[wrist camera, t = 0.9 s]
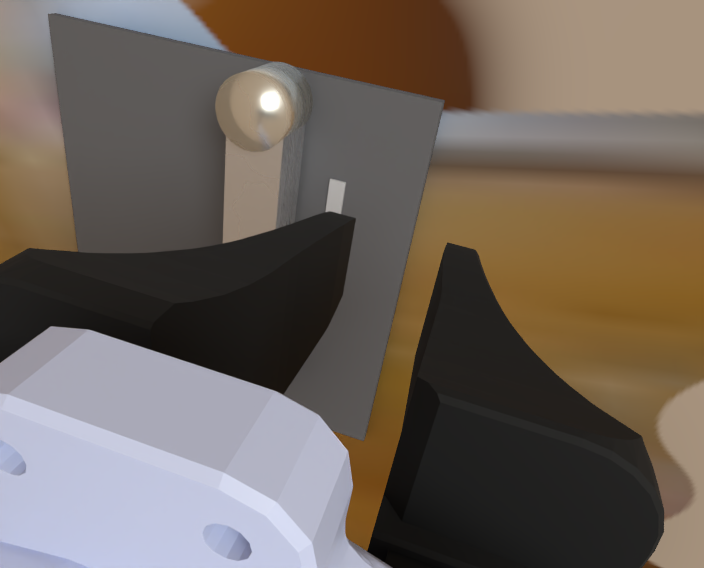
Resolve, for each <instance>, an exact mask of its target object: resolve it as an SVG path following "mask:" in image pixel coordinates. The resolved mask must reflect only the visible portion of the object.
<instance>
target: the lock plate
mask: <svg viewBox="0 0 704 568" xmlns="http://www.w3.org/2000/svg"><path fill="white" fill-rule="evenodd" d="M48 18H49V26H50V34H51V41H52V49H53V57H54V65H55V73H56V81H57V89H58V97H59V105H60V112H61V120H62V128H63V136H64V144H65V152H66V160H67V168H68V175H69V183H70V191H71V199H72V207H73V215H74V223H75V231H76V239H77V246H78V252H85V253H151V252H162V251H173V250H184V249H193V248H200V247H206V246H212V245H217V244H223V218H224V186H225V154H226V135H225V134H224V132H223V131H222V129H221V127H220V125H219V123H218V120H217V116H216V110H215V102H216V96H217V93H218V90H219V88H220V86H221V85H222V84H223V82H224V81H225V80H226V79H228V78H229V77H231V76H233V75H235V74H238V73H241V72H244V71H247V70H250V69H253V68H256V67H259V66H262V65H265V64H268V63H271V61H266V60H262V59H258V58H253V57H249V56H244V55H240V54H235V53H231V52H226V51H222V50H217V49H213V48H209V47H204V46H200V45H195V44H191V43H186V42H182V41H177V40H173V39H168V38H164V37H159V36H155V35H150V34H146V33H141V32H137V31H133V30H128V29H124V28H119V27H115V26H110V25H106V24H101V23H97V22H92V21H88V20H83V19H79V18H74V17H70V16H66V15H61V14H57V13H54V14H48ZM295 68H296V69H297V70H299V71H300V72H301V73H302V74H303V76H304V77H305V78H306V80H307V82H308V83H309V86H310V88H311V91H312V96H313V108H312V113H311V116H310V118H309V120H308V121H307V123H306V124H305V132H304V141H303V151H302V160H301V169H300V179H299V188H298V197H297V206H296V216H295V222H298V221H300V220H303V219H306V218H309V217H312V216H315V215H318V214H321V213H324V212H329V211H331V212H335V213H339V214H343V215H346V216H350V217H354V218H356V222H355V228H354V233H353V239H352V245H351V251H350V257H349V263H348V268H347V274H346V280H345V286H344V292H343V296H342V298H341V300H340V303H339V305H338V307H337V309H336V311H335V314H334V316H333V318H332V320H331V322H330V324H329V326H328V328H327V330H326V331H325V333H324V334H323V336H322V337H321V339H320V340H319V342H318V343H317V345H316V347H315V348H314V350H313V351H312V353H311V354H310V356H309V357H308V359H307V360H306V362H305V363H304V365H303V366H302V368H301V369H300V371H299V372H298V374H297V375H296V377H295V378H294V380H293V381H292V383H291V384H290V386H289V387H288V389H287V390H286V392H285V393H284V395H285V396H286V397H288V398H290V399H292V400H294V401H295V402H297V403H299V404H301V405H303V406H304V407H306V408H308V409H310V410H312V411H313V412H315V413H317V414H318V415H319V416H320V417H321V418H322V419H323V421H324V422H325V423H326V424H327V426H328V427H329V428H330V429H331V430H332V431H335V432H338V433H341V434H344V435H347V436H350V437H353V438H356V439H359V440H362V441H364V439H365V436H366V432H367V428H368V423H369V419H370V415H371V411H372V407H373V402H374V398H375V394H376V390H377V385H378V381H379V377H380V373H381V368H382V364H383V360H384V356H385V351H386V347H387V343H388V339H389V335H390V330H391V326H392V322H393V318H394V313H395V309H396V305H397V301H398V296H399V292H400V288H401V284H402V279H403V275H404V271H405V267H406V263H407V258H408V254H409V250H410V246H411V241H412V237H413V233H414V229H415V224H416V220H417V216H418V212H419V207H420V203H421V199H422V195H423V191H424V186H425V182H426V178H427V174H428V169H429V165H430V161H431V157H432V152H433V148H434V144H435V140H436V136H437V131H438V127H439V123H440V119H441V114H442V110H443V106H444V102H445V101H444V100H441V99H436V98H432V97H428V96H423V95H419V94H414V93H410V92H405V91H400V90H396V89H392V88H387V87H383V86H378V85H374V84H369V83H365V82H361V81H356V80H351V79H347V78H342V77H338V76H333V75H329V74H324V73H320V72H315V71H311V70H307V69H302V68H298V67H295Z"/></svg>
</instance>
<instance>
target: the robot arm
mask: <svg viewBox="0 0 704 568" xmlns="http://www.w3.org/2000/svg"><path fill="white" fill-rule="evenodd" d="M355 222H356V218H354V217H350V216H346V215H343V214H339V213H335V212H331V211H329V212H324V213H321V214H318V215H315V216H312V217H309V218H306V219H303V220H300V221H298V222H295V223H292V224H289V225H286V226H283V227H280V228H277V229H274V230H271V231H268V232H264V233H261V234H257V235H254V236H251V237H247V238H244V239H240V240H236V241H232V242H227V243H223V244H217V245H212V246H206V247H200V248H193V249H184V250H173V251H162V252H151V253H85V252H71V251H57V250H43V249H33V248H29V249H27V250H25V251H23V252H21V253H19V254H18V255H16V256H14V257H12V258H10V259H9V260H7V261H5V262H3V263H2V264H0V568H642V567H643V566H644V564H645V563H646V562H647V560H648V559H649V558H650V556H651V555H652V553H653V552H654V551H655V549H656V547H657V545H658V543H659V541H660V539H661V537H662V535H663V532H664V508H663V504H662V500H661V496H660V491H659V487H658V483H657V480H656V476H655V473H654V469H653V466H652V463H651V461H650V458H649V455H648V453H647V450H646V447H645V445H644V442H643V438H642V436H641V435H639V434H638V433H636V432H635V431H633V430H631V429H630V428H628V427H627V426H625V425H624V424H622V423H621V422H619V421H618V420H616V419H615V418H613V417H611V416H610V415H608V414H607V413H605V412H604V411H602V410H601V409H599V408H598V407H596V406H595V405H593V404H592V403H591V402H589V401H588V400H587V399H586V398H584V397H583V396H582V395H581V394H579V393H578V392H577V391H575V390H574V389H573V388H572V387H570V386H569V385H568V384H567V383H566V382H564V381H563V380H562V379H561V378H560V377H559V376H558V375H556V374H555V373H554V372H553V371H552V370H551V369H550V368H549V367H548V366H547V365H546V364H545V363H544V362H543V361H542V360H541V359H540V358H539V357H538V356H537V355H536V354H535V353H534V352H533V351H532V350H531V348H530V347H529V346H528V345H527V344H526V343H525V341H524V340H523V339H522V338H521V336H520V335H519V334H518V333H517V331H516V330H515V329H514V327H513V326H512V325H511V323H510V322H509V320H508V319H507V317H506V316H505V314H504V312H503V311H502V309H501V307H500V305H499V304H498V302H497V300H496V298H495V296H494V294H493V292H492V290H491V287H490V285H489V283H488V281H487V278H486V276H485V273H484V271H483V268H482V265H481V262H480V259H479V255H478V254H477V252H476V250H474V249H470V248H466V247H462V246H459V245H455V244H451V243H447V245H446V247H445V250H444V253H443V256H442V260H441V264H440V267H439V271H438V275H437V278H436V282H435V286H434V289H433V293H432V297H431V300H430V304H429V307H428V311H427V315H426V318H425V322H424V326H423V329H422V333H421V337H420V340H419V344H418V348H417V351H416V355H415V361H414V366H413V372H412V377H411V383H410V388H409V394H408V400H407V405H406V411H405V416H404V422H403V428H402V432H401V436H400V440H399V443H398V447H397V450H396V454H395V457H394V461H393V464H392V468H391V471H390V475H389V478H388V482H387V485H386V489H385V492H384V496H383V499H382V503H381V506H380V509H379V513H378V516H377V520H376V523H375V527H374V530H373V533H372V537H371V540H370V544H369V548H368V551H365V550H364V549H362V548H361V547H359V546H358V545H356V544H354V543H353V542H351V541H350V540H348V539H347V538H346V535H345V519H346V514H347V510H348V506H349V502H350V497H351V493H352V489H353V483H352V476H351V468H350V461H349V454H348V451H347V449H346V448H345V447H344V446H343V444H342V443H341V442H340V441H339V439H338V438H337V437H336V436H335V434H334V433H333V432H332V431H331V429H330V428H329V427H328V426H327V424H326V423H325V422H324V421H323V419H322V418H321V417H320V416H319V415H318V414H317V413H315V412H313V411H312V410H310V409H308V408H306V407H304V406H303V405H301V404H299V403H297V402H295V401H294V400H292V399H290V398H288V397H286V396H285V395H284V393H285V392H286V390H287V389H288V387H289V386H290V384H291V383H292V381H293V380H294V378H295V377H296V375H297V374H298V372H299V371H300V369H301V368H302V366H303V365H304V363H305V362H306V360H307V359H308V357H309V356H310V354H311V353H312V351H313V350H314V348H315V347H316V345H317V343H318V342H319V340H320V339H321V337H322V336H323V334H324V333H325V331H326V330H327V328H328V326H329V324H330V322H331V320H332V318H333V316H334V314H335V311H336V309H337V307H338V305H339V303H340V300H341V298H342V296H343V292H344V286H345V280H346V274H347V268H348V263H349V257H350V251H351V245H352V239H353V233H354V228H355Z"/></svg>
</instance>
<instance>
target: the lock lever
mask: <svg viewBox="0 0 704 568" xmlns="http://www.w3.org/2000/svg"><path fill="white" fill-rule="evenodd" d="M312 108H313V96H312V91H311V88H310V86H309V83H308V82H307V80H306V78H305V77H304V76H303V74H302V73H301V72H300V71H299V70H297V69H296V68H295V67H293V66H291V65H289V64H286V63H283V62H271V63H268V64H265V65H262V66H259V67H256V68H253V69H250V70H247V71H244V72H241V73H238V74H235V75H233V76H231V77H229V78H228V79H226V80H225V81H224V82H223V84H222V85H221V86H220V88H219V90H218V93H217V96H216V102H215V110H216V116H217V120H218V123H219V125H220V127H221V129H222V131H223V132H224V134H225V135H226V154H225V186H224V218H223V243H227V242H232V241H236V240H240V239H244V238H247V237H251V236H254V235H257V234H261V233H264V232H268V231H271V230H274V229H277V228H280V227H283V226H286V225H289V224H292V223H295V216H296V206H297V197H298V188H299V179H300V169H301V160H302V151H303V141H304V132H305V124H306V123H307V121H308V120H309V118H310V116H311V113H312Z"/></svg>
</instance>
